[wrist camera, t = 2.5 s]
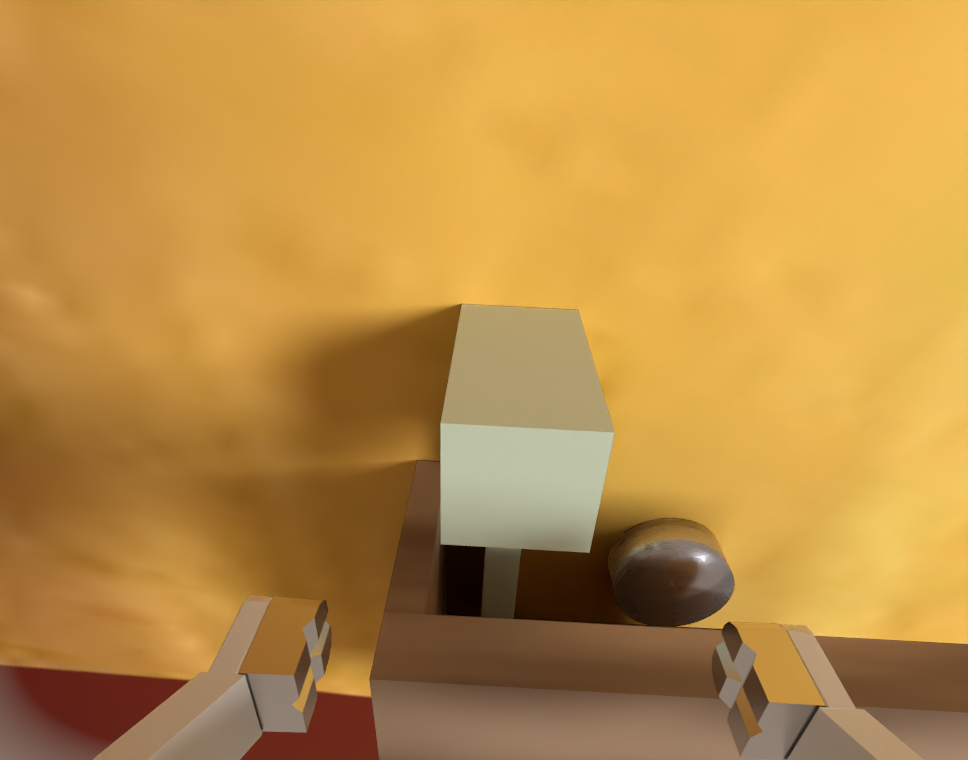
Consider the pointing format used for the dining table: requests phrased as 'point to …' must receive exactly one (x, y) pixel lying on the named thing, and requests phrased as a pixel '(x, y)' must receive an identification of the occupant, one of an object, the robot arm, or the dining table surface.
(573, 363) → the sage paddle
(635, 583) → the steel puck
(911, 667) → the walnut shelf
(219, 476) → the dining table surface
